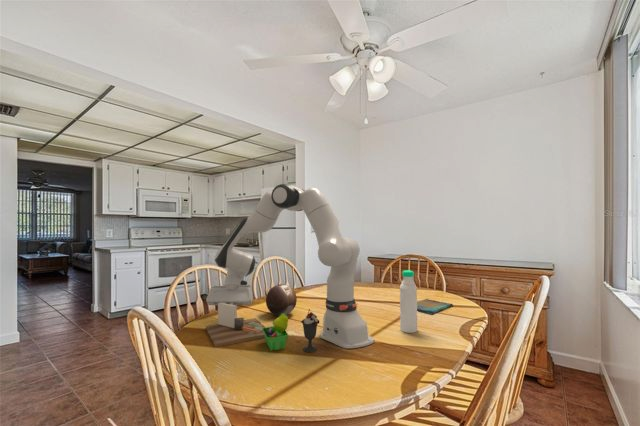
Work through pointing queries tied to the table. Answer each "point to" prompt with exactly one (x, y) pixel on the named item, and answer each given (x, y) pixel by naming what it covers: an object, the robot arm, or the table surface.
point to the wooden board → (235, 333)
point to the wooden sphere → (281, 299)
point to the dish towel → (431, 306)
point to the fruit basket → (277, 333)
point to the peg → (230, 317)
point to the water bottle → (408, 303)
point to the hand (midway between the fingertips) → (226, 313)
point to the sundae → (310, 330)
